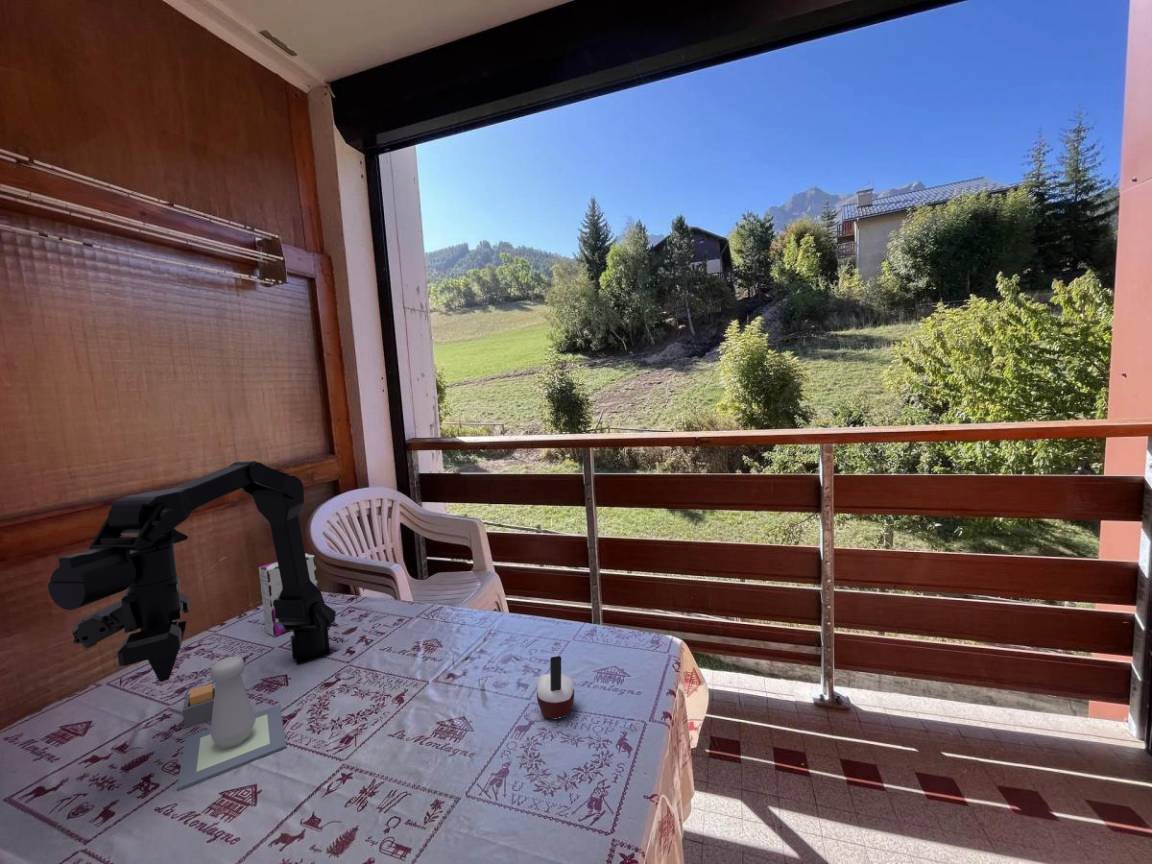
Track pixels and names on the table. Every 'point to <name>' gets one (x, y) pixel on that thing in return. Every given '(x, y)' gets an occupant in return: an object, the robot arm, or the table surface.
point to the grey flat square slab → (230, 749)
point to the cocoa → (555, 691)
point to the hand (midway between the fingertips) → (164, 679)
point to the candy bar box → (278, 592)
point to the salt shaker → (230, 704)
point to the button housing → (197, 712)
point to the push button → (201, 694)
